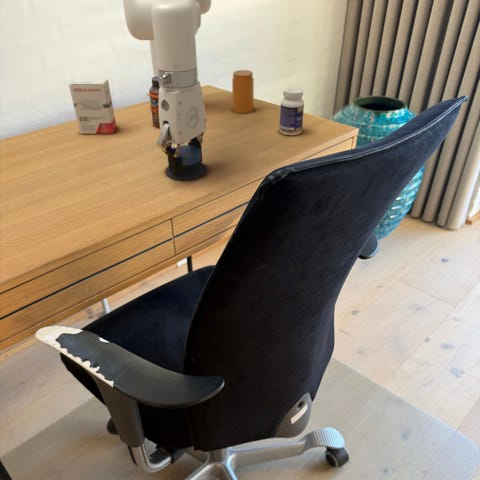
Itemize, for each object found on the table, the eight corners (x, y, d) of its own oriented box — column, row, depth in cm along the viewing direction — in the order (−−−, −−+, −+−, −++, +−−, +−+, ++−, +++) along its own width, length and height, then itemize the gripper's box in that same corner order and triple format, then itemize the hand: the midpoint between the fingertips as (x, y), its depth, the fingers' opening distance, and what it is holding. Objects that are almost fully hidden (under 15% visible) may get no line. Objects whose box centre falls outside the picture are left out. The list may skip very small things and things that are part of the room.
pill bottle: (300, 136, 117) (303, 94, 111) (277, 135, 118) (279, 92, 112) (302, 128, 122) (306, 86, 115) (280, 126, 123) (282, 85, 116)
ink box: (117, 126, 124) (108, 77, 116) (113, 134, 120) (103, 83, 112) (84, 127, 124) (73, 78, 116) (79, 134, 120) (68, 84, 112)
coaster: (157, 174, 102) (157, 172, 102) (182, 159, 108) (182, 157, 108) (191, 184, 99) (190, 182, 98) (215, 168, 104) (215, 166, 104)
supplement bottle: (148, 125, 124) (142, 79, 116) (162, 118, 128) (157, 73, 120) (166, 130, 122) (161, 82, 114) (180, 122, 125) (176, 76, 118)
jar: (228, 111, 132) (227, 73, 125) (239, 105, 136) (239, 68, 129) (246, 114, 130) (246, 77, 123) (257, 108, 133) (257, 71, 127)
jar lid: (206, 161, 100) (205, 153, 99) (177, 167, 98) (177, 159, 97) (193, 151, 105) (193, 143, 104) (166, 156, 102) (165, 148, 101)
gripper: (165, 92, 84) (175, 187, 96) (219, 69, 95) (222, 156, 107) (133, 86, 87) (147, 178, 99) (189, 64, 98) (195, 150, 110)
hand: (186, 166), depth 103 cm, fingers closed on jar lid, 6 cm apart
